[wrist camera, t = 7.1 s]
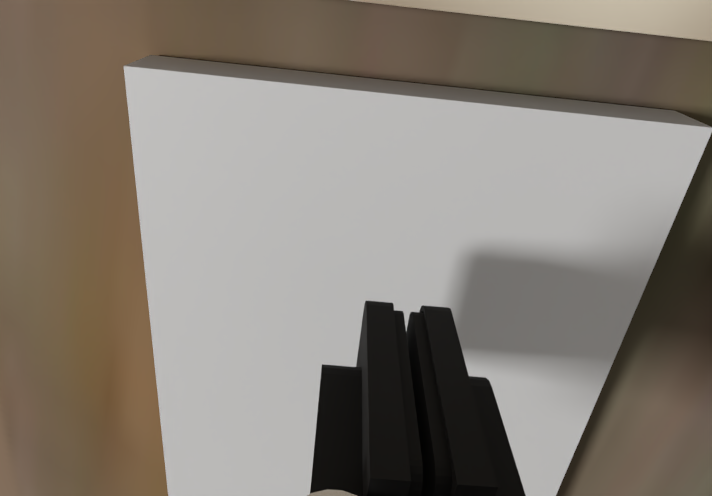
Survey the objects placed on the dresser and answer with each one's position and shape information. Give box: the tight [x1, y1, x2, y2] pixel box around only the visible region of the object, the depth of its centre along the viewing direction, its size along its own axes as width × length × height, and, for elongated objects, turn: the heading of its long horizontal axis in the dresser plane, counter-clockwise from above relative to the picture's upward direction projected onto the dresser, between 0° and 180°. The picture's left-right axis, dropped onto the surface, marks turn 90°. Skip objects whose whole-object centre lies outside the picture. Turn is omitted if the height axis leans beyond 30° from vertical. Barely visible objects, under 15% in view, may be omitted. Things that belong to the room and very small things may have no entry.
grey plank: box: [124, 55, 712, 496], centre depth 15 cm, size 16×12×2 cm
